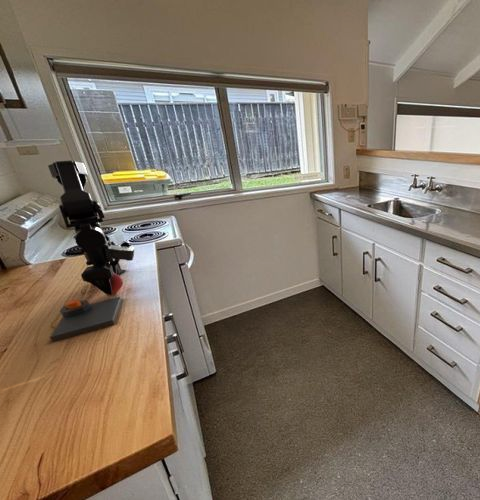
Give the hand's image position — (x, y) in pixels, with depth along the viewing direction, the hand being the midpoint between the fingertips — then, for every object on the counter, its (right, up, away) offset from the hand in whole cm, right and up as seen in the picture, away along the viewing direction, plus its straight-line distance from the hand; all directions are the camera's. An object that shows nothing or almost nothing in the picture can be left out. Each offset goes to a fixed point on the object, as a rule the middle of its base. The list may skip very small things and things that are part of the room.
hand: (112, 288), depth 88 cm
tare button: (-1, -4, -11) cm, 12 cm away
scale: (+4, -7, -12) cm, 14 cm away
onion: (0, -2, +1) cm, 2 cm away
